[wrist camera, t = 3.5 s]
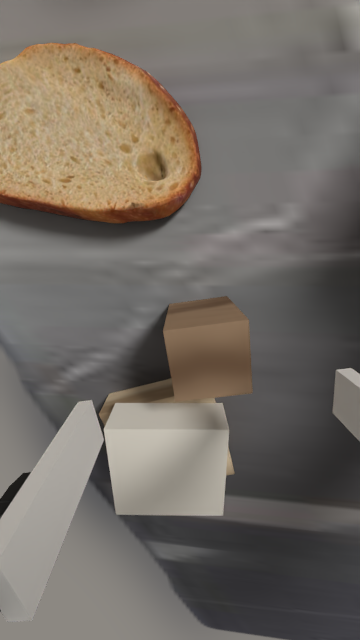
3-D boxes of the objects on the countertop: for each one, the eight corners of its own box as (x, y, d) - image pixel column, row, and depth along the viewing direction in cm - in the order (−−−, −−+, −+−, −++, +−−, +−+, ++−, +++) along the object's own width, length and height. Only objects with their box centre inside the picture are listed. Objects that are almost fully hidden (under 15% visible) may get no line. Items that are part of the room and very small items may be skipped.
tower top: (115, 402, 23) (103, 429, 20) (222, 403, 23) (229, 429, 19) (124, 480, 26) (116, 514, 23) (218, 481, 26) (223, 515, 23)
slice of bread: (-64, 159, 20) (-119, 139, 16) (58, -44, 16) (23, -129, 12) (91, 302, 24) (75, 312, 20) (221, 166, 20) (229, 148, 16)
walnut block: (169, 304, 23) (163, 330, 16) (226, 296, 23) (248, 319, 15) (177, 355, 25) (175, 401, 17) (230, 348, 25) (252, 393, 17)
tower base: (110, 391, 27) (98, 414, 23) (205, 367, 26) (209, 387, 22) (142, 462, 31) (136, 493, 27) (227, 444, 30) (234, 473, 26)
